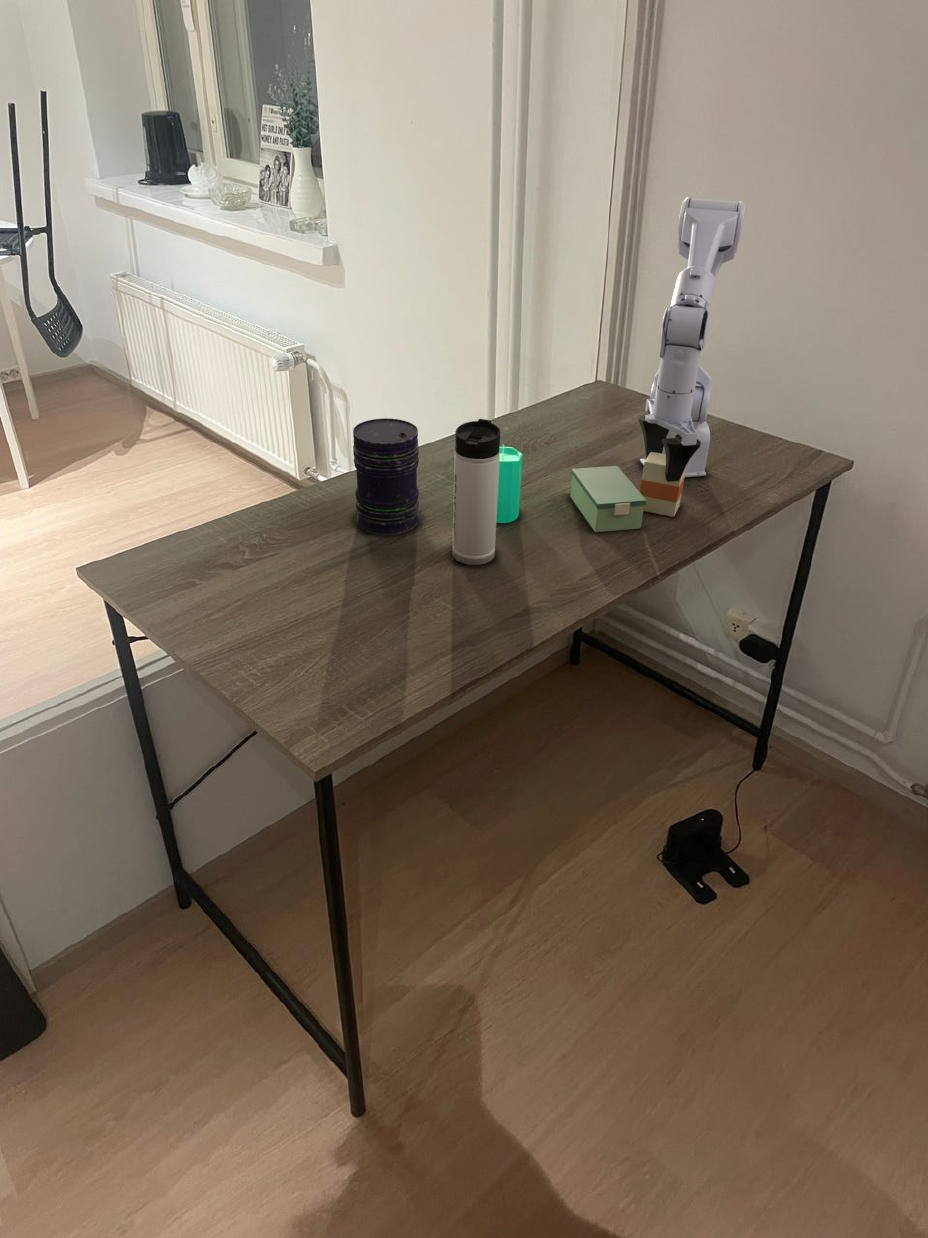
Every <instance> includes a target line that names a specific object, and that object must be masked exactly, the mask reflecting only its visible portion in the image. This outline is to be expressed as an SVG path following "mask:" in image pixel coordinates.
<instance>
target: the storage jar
mask: <svg viewBox="0 0 928 1238" xmlns="http://www.w3.org/2000/svg"><path fill="white" fill-rule="evenodd" d="M352 434H353V435H352V437H353V446H352V452H353V453H352V454H353V465H354V468H355V469H356V471H355V472H356V487H355V492H354V496H355V509H356V514H357V516H356V522H357V523H356V524H357V525H358V526H359V527H360V528H361V529H362V530H364V531H365V532H368V533H372V534H375V535H384V536H385V535H386V536H389V535H400V534H403V533H406V532H409V531H411V530H413V529H414V528H415V527H416V526H417V525H418V524H419V509H420V508H419V507H420V497H419V496H420V491H419V490H420V489H419V486H418V485H417V484H418V483H417V482H418V474H417V471H418V470H417V469H418V468H419V462H420V458H419V455H420V446H419V439H418V437H419V430H418V427H417V426H416V425H415V424H413V423H412V422H410V421H406V420H403V419H399V418H383V417H382V418H375V419H368V420H364V421H362V422H360V423H358V424H356V425H355V426H354V427H353V429H352Z"/></svg>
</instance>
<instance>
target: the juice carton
mask: <svg viewBox="0 0 928 1238" xmlns="http://www.w3.org/2000/svg"><path fill="white" fill-rule="evenodd" d="M665 470H666V454H661V453H655V452H650V454H649V455H648V457H647V459H646V460H645V462H644V465H643V468H642V477H641V480H640V488H639V492H640V493H641V494H642V495H643V497H644V498H645V499H646V500H647V502H646V505H644V509H643V512H647V513H651V514H657V515H661V516H668V517H673V518H674V517H675V516H676V514H677V512H678V510H679V508H680V505H681V500H682V493H683V489H684V484H685V478H686V477H685V471H686V468H685V470H684V472H683V474H682V476H681V478H680V480H679V481H673V482H667V481H666V477H665Z"/></svg>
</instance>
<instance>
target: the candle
mask: <svg viewBox="0 0 928 1238" xmlns="http://www.w3.org/2000/svg"><path fill="white" fill-rule="evenodd" d="M499 456H500V458H499V478H498V498H497V518H496V524H506V523H507V524H508V523H511V522H515V521H516V520H517V519H518V517H519V515H520V504H521V503H520V502H521V500H520V499H521V486H522V484H521V483H522V469H523V453H521V452H520V451H519V450H518V449H516V448H514V447H512V446H505V444H504V443H503V444H502V446H500V455H499Z"/></svg>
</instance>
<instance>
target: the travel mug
mask: <svg viewBox="0 0 928 1238" xmlns="http://www.w3.org/2000/svg"><path fill="white" fill-rule="evenodd" d="M500 447H501V429H500V428H499V426H498V425H496V424H495V423H493V422H492V420H490V419H486V418H479V419H477V420H472V421H468V422H464V423H462V424H460V425H458V427H457V428H456V429H455V439H454V461H453V463H454V464H453V465H454V466H453V467H454V468H453V508H452V509H453V511H452V513H453V514H452V557H453V559H455V560H456V561H457V562H458V563H461V564H463V565H468V566H481V565H485V564H487V563H490V562H491V561H492V560H493V559H494V558H495V555H496V537H497V534H496V533H497V523H496V518H497V498H498V478H499V458H500V456H499V455H500Z"/></svg>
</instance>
